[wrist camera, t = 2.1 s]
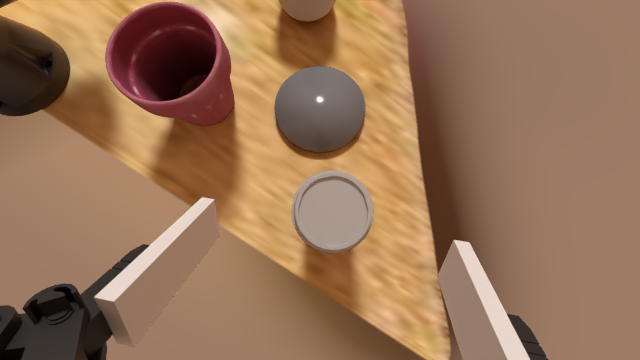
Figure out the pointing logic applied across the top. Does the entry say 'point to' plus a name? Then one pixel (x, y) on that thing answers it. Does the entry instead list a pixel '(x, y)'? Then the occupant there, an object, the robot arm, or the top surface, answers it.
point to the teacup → (307, 8)
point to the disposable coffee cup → (332, 211)
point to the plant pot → (172, 63)
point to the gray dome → (320, 109)
